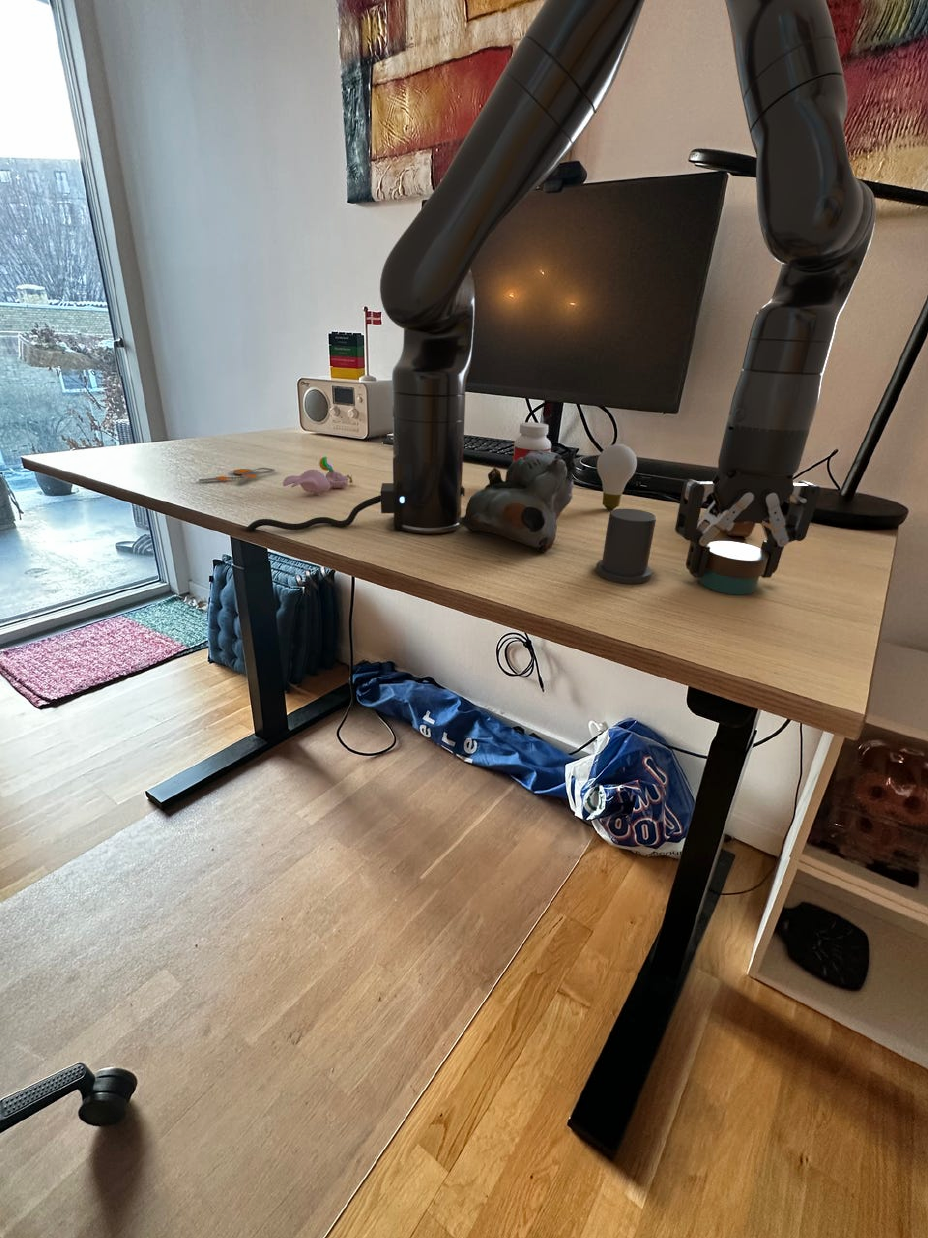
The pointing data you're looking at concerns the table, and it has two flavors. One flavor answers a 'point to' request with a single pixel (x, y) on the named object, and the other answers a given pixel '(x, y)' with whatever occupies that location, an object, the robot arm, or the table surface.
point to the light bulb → (615, 472)
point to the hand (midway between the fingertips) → (728, 575)
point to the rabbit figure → (319, 479)
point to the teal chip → (728, 583)
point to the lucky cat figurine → (524, 499)
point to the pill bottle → (531, 439)
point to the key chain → (244, 477)
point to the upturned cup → (627, 546)
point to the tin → (740, 528)
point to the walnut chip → (736, 559)
